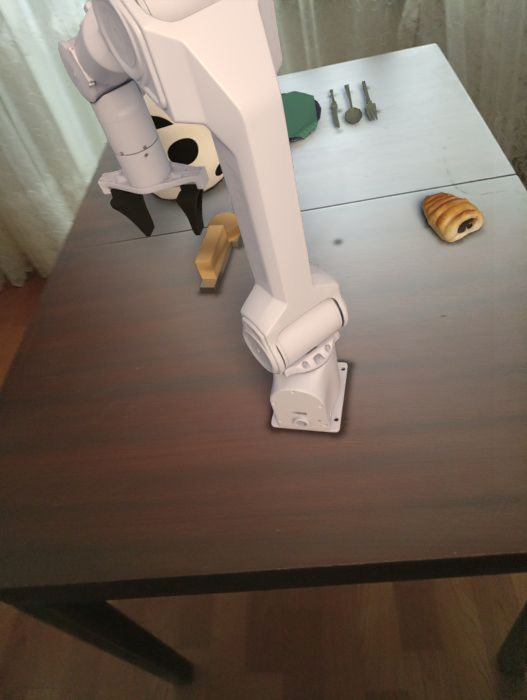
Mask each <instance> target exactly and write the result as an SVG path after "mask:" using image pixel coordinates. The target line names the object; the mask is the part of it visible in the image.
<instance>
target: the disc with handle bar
mask: <svg viewBox="0 0 527 700" xmlns="http://www.w3.org/2000/svg"><path fill="white" fill-rule="evenodd" d="M206 227H207V230H206V233H205V235H204V236H203V240H202V242H201V245H200V248H199V249H198V253H197V255H196V257H195V260H194V263H195V266H196V268H197V270H198V273H199V275H200V277H201V280H202V279H217V277H218V274H219V271H220V268H221V266H222V263H223V260H224V257H225V254H226V251H227V248H228V246H229V242H231V241H233V240H235V239H236V238H237V237H239V235H240V234H241V233H240V229H239V226H238V223H237V219H236V216H235V213H234V212H221V213H218V214H216V215H214V216H213V217H212V218H211V219H210V220H209V221H208V223H207V226H206Z"/></svg>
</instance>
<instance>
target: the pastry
mask: <svg viewBox="0 0 527 700" xmlns="http://www.w3.org/2000/svg"><path fill="white" fill-rule="evenodd" d="M421 203H422V204H421V208H422V210H423V214H424V217H425V218H426V220H427V224H428V226H429V227H431V229H432V230H433V231H434V233H436V234H437V236H438V237H439V238H440V239H441V240H442V241H445V242H448V243H454V242H456V241H459V240H460V239H462V238H464V237H465V236H467V235H468V234H470V233H473V232H475V231H478V230H479V229H481V227H482V226H483V225H484V221H485V216H484V215H483V212H482V211H481V210H479V207H477V206H476V205H475V204H473V203H472V202H470V201H469V200H468V198H465V197H459V196H456V195H454V194H453V193H449V192H448V193H447V192H442V191H441V192H437V193H433V194H430V195H426V196H424V199H423V201H422V202H421Z"/></svg>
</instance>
